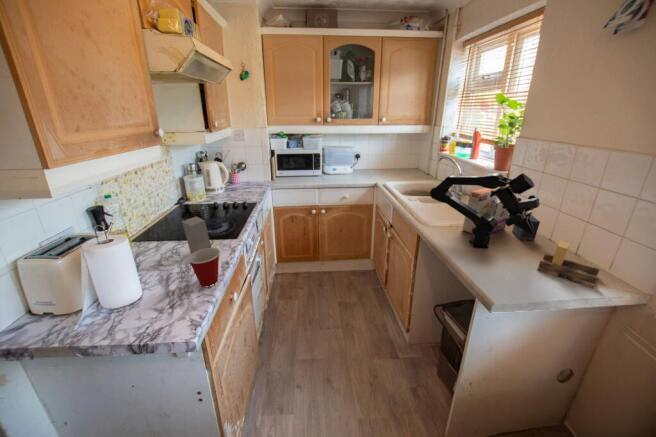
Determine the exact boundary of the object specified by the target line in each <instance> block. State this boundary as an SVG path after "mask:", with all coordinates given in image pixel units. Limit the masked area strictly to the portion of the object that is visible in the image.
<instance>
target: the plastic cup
mask: <svg viewBox="0 0 656 437" xmlns="http://www.w3.org/2000/svg"><path fill="white" fill-rule="evenodd" d="M220 255H221V252H220V249H218V248H213V247H211V248H207V249H202V250H198V251H196V252H194V253H192V254H191V253H190V254H189V255H188V256H186V261H187V262H188V263H189V264H190V266H191V267H192V269H193V272H194V274H195V276H196V278H197V280H198V282H199V284H200V286H201V285H202V286H210V285H212V284H215V283H216V282H217V281H218V280H219V261H220V260H219V259H220ZM217 283H218V282H217ZM202 286H201V287H202Z"/></svg>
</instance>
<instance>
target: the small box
mask: <svg viewBox="0 0 656 437" xmlns="http://www.w3.org/2000/svg"><path fill="white" fill-rule="evenodd" d="M530 219H531V222H532V225H533V228H534V230H535V231H534V232H533V233H532V234H530V233H528V232H527V231H525V230H523V229H521V228H520V227H518V226H516V225H513V227H512V231H511V233H513V234H514V236H515V237H516V238H517V239H518V240H519V241H521V242H522V241H523V242H532V243H534V242H535V239H536V236H537V233H538V229H539V227H540V224H541V222H540V220H538V218H536V217H535V216H534V215H533V214H531V217H530Z"/></svg>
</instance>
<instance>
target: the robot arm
mask: <svg viewBox="0 0 656 437" xmlns="http://www.w3.org/2000/svg"><path fill="white" fill-rule="evenodd" d="M453 185H454V186H478V187H481V188H483V189H484V188H489V189H495V190H492V191H491V195H490V197H493V196H494V195H496V196H497V198H498V199H499V200H500V202H501V203H502V204H503V209H506V210H507V211H508V217H507V219H506V221H505V223H506V225H505V226H507V227H510V226H514V225H516V226H518V227H520V228H521V229H523V230H525V231H527V232H528V233H530V234H532V233H533V232H534V231H535V230H534V228H533V225H532V222H531V219H530V217H531V215H533V212H532V211H533V210H535V209H537V208H539V206H540V205H541V204H540V198H539V197H538V196H536V195H534V194H531V195H529V196H528V198H526V199H522V198H521V197H517V196H516V194H518V195H522V194H523V193H526V192H527V191H529V190H532V189H533V188H534V187H535V183H534V182H533V180H532V179H531V178H530V177H529V176H528V175H526V174H525V173H524V172H522V173H520V174H518V176H516V177H514V178H510V177H506V176H504V175H503V174H502V173H499V172H497V173H496V172H494V173H489V174H484V175H483V174H482V175H453V174H452V175H449V176H446V178H444V180H443V181H442V182H440V183H439V184H438V185H437V186H435V187H433V188H432V189H430V192H429V195H430V198H431V199H433V200H434V201H437V202H439V203H443V204H446V205H448V206H449V207H450V208H452V209H453V210H455V211H457V212H458V213H460V214H462V216H464V218H465V217H467V218H468V219H470V220H471V221H472V222H473V223H474V225H475V226H476V227H475V228H474V229H472V232H473V233H472V234H471V238H470V240H469V241H468V242H469V243H470V244H471V246H472V247H473V249H474V248H475V249H489V244H490V240H491V235H490V234H491V233H490V232H492V231H493V230H494V229H495V228H496V227H497V220H496V219H495V217H494V216H491V215H490V214H489V213H487V212H486V213H484V214H481V213H478V212H477V211H475V210H474V209H472V208H471V207H469V206H468V204H466V203H464V202H463V200H460V199H459V198H457V197H456V196H454V195H453V194H452V192H451V191H450V189H451V187H452V186H453ZM497 198H496V199H497ZM530 211H531V212H530ZM528 212H529V213H528Z"/></svg>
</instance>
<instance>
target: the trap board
mask: <svg viewBox="0 0 656 437" xmlns="http://www.w3.org/2000/svg"><path fill="white" fill-rule="evenodd" d="M553 257H554V254H549V253H546V252H545V253H544V255H543V258H542V259H540V261H539V264H538V266H537V269H536V270H537V271H539V272H541V273H545V274H549V275H551V276H554V277H558V278H560V279H564V280H566V281H568V282H572V283H575V284H578V285H581V286H584V287H587V288H591V289H594V287H595V285H596V283H597V280H598V279H599V278H598V274H599V272H600V268H597V267H593V266H590V265H587V264H584V263H581V262H577V261H573V260H571V259H567V258H564V261H563V264H562V266H559V265H556V264H553V263H552V260H553Z"/></svg>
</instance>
